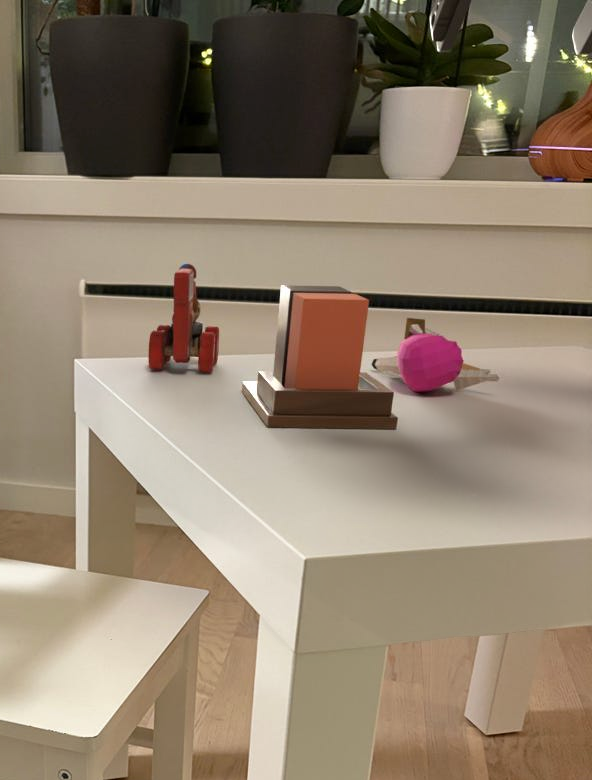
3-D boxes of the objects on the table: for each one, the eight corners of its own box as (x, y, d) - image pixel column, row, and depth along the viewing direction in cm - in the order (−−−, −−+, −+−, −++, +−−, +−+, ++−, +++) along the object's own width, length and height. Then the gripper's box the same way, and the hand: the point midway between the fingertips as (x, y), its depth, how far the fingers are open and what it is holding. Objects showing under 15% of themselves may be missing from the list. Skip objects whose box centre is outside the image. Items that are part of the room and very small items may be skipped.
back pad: (355, 408, 85) (369, 299, 81) (292, 407, 84) (303, 298, 80) (343, 397, 89) (355, 293, 85) (283, 397, 88) (293, 292, 85)
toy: (457, 375, 107) (508, 393, 93) (370, 384, 108) (409, 403, 94) (459, 305, 105) (512, 313, 91) (370, 315, 105) (410, 324, 91)
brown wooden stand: (396, 429, 82) (414, 305, 78) (267, 427, 82) (278, 302, 78) (352, 393, 96) (366, 285, 91) (241, 391, 95) (249, 283, 91)
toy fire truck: (219, 358, 112) (225, 262, 108) (210, 378, 101) (217, 272, 97) (159, 355, 113) (163, 260, 109) (144, 375, 102) (148, 269, 98)
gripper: (792, -326, 46) (614, 2, 61) (493, -337, 45) (389, -4, 60) (832, -222, 43) (635, 93, 58) (516, -233, 43) (401, 87, 58)
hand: (510, 43), depth 59 cm, fingers open, 8 cm apart
